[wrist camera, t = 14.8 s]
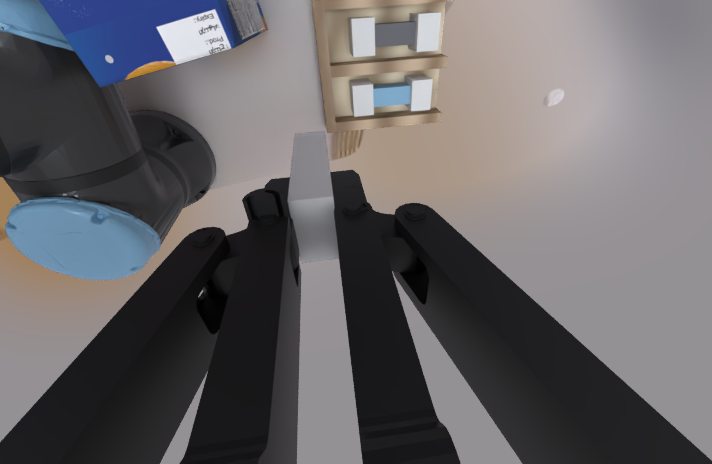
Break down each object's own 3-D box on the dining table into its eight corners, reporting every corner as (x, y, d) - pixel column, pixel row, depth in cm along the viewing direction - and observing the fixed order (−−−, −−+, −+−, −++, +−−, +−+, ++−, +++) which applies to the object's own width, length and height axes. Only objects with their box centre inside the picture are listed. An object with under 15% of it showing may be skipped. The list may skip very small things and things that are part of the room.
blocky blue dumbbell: (350, 108, 47) (354, 116, 43) (349, 79, 44) (352, 86, 41) (421, 102, 47) (430, 109, 44) (423, 73, 45) (432, 79, 41)
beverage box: (268, 29, 40) (236, 47, 23) (190, 52, 41) (99, 87, 23) (245, -39, 36) (183, -80, 19) (158, -12, 37) (18, -27, 19)
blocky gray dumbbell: (349, 53, 42) (353, 57, 39) (347, 17, 40) (351, 19, 36) (427, 46, 43) (437, 50, 39) (430, 11, 41) (441, 12, 37)
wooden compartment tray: (444, -13, 40) (455, -14, 37) (432, 115, 50) (440, 122, 47) (311, -3, 39) (311, -4, 36) (326, 125, 49) (327, 133, 46)
